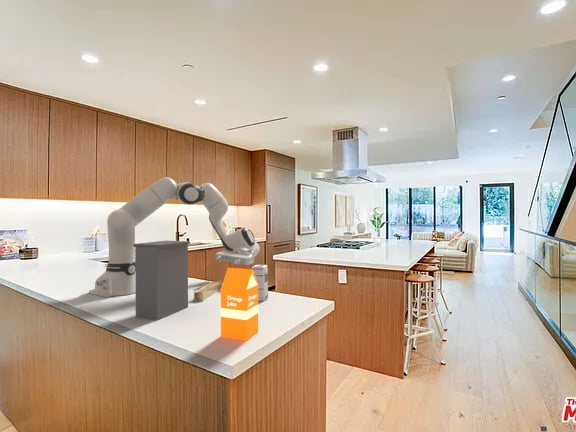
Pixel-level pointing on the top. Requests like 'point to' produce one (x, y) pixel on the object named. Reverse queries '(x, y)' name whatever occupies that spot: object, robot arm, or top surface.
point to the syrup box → (261, 281)
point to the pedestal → (161, 278)
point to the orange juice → (239, 304)
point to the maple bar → (207, 290)
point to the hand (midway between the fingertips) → (225, 261)
